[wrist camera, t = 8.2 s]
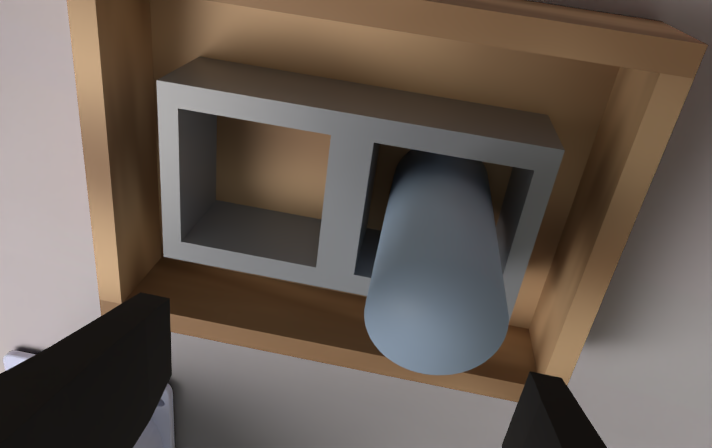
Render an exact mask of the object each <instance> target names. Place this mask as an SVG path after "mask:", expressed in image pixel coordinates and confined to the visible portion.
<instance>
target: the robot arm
mask: <svg viewBox="0 0 712 448" xmlns="http://www.w3.org/2000/svg"><path fill="white" fill-rule="evenodd" d="M3 362H4V366H5V372H3V373H1V374H0V448H175V440H174V413H173V391H172V388H171V386H170V385H169V384H168V382H169V379H170V377H171V375H172V367H171V327H170V298H166V297H161V296H157V295H152V294H147V293H142V292H140V293H139V294H137V295H135V296H133V297H132V298H130V299H128V300H127V301H125V302H123V303H122V304H120V305H118V306H117V307H115V308H114V309H112V310H110V311H109V312H107V313H105V314H104V315H102V316H101V317H99V318H97V319H96V320H94V321H92V322H91V323H89V324H88V325H86V326H84V327H83V328H81V329H79V330H77V331H76V332H74V333H72V334H71V335H69V336H67V337H66V338H64V339H62V340H61V341H59V342H57V343H56V344H54V345H52V346H51V347H49V348H47V349H45V350H43V351H42V352H40V353H38V354H31V353H26V352H21V351H16V350H12V351H9V352H8V353H7V354H6V355H5V356H4V358H3ZM161 399H162V400H161ZM502 448H607V447H606V445H605V444H604V442H603V441H602V439H601V438H600V436H599V435H598V433H597V432H596V430H595V429H594V427H593V426H592V424H591V422H590V421H589V419H588V418H587V416H586V415H585V413H584V412H583V410H582V408H581V407H580V405H579V404H578V402H577V401H576V399H575V398H574V396H573V394H572V393H571V391H570V390H569V388H568V387H567V385H566V384H565V382H564V381H563V379H562V378H560V377H555V376H550V375H546V374H541V373H536V372H531V371H530V372H529V375H528V377H527V380H526V383H525V385H524V388H523V391H522V393H521V396H520V399H519V401H518V404H517V407H516V409H515V412H514V415H513V417H512V420H511V423H510V425H509V428H508V431H507V433H506V436H505V439H504V441H503V444H502Z"/></svg>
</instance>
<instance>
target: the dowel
mask: <svg viewBox="0 0 712 448" xmlns="http://www.w3.org/2000/svg"><path fill="white" fill-rule="evenodd" d="M364 319H365V326H366V329H367V332H368V334H369V336H370V339H371V340H372V342H373V343H374V345H375V346H376V347H377V348H378V350H379V351H380V352H381V353H382V354H383V355H384V356H386V357H387V358H388V359H389V360H391V361H392V362H394V363H396V364H397V365H399V366H401V367H403V368H406V369H408V370H411V371H414V372H417V373H422V374H428V375H452V374H457V373H462V372H465V371H468V370H471V369H473V368H475V367H477V366H479V365H481V364H482V363H484V362H486V361H487V360H488V359H489V358H491V357H492V356H493V355H494V354H495V353H496V352H497V350H498V349H499V348H500V346H501V345H502V343H503V341H504V339H505V337H506V334H507V331H508V325H509V314H508V307H507V301H506V294H505V287H504V280H503V274H502V267H501V260H500V253H499V247H498V240H497V233H496V227H495V220H494V213H493V206H492V200H491V193H490V186H489V179H488V174H487V171H486V168H485V166H484V164H483V162H482V161H477V160H471V159H465V158H459V157H454V156H448V155H442V154H437V153H431V152H425V151H419V150H414V149H411V150H410V151H409V152H408V153H407V154H405V156H404V157H403V158H402V159H401V160H400V162H399V163H398V165H397V167H396V170H395V173H394V177H393V181H392V186H391V190H390V195H389V199H388V204H387V208H386V213H385V217H384V222H383V226H382V231H381V235H380V240H379V244H378V249H377V254H376V258H375V263H374V267H373V272H372V276H371V281H370V285H369V290H368V294H367V299H366V303H365V309H364Z"/></svg>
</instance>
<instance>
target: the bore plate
mask: <svg viewBox="0 0 712 448" xmlns="http://www.w3.org/2000/svg"><path fill="white" fill-rule="evenodd" d="M156 83H157V107H158V132H159V156H160V180H161V205H162V229H163V254H164V257H168V258H173V259H178V260H183V261H188V262H194V263H199V264H204V265H209V266H214V267H219V268H225V269H230V270H235V271H240V272H245V273H250V274H256V275H261V276H266V277H271V278H276V279H281V280H287V281H292V282H297V283H302V284H307V285H312V286H318V287H323V288H328V289H333V290H338V291H343V292H349V293H354V294H359V295H364V296H367V294H368V290H369V285H370V281H371V276H372V272H373V267H374V263H375V258H376V254H377V249H378V244H379V240H380V235H381V230H376V229H370V228H367V224H368V217H369V211H370V205H371V198H372V192H373V185H374V179H375V173H376V166H377V160H378V154H379V147H380V144H385V145H391V146H397V147H402V148H408V149H414V150H419V151H425V152H431V153H437V154H442V155H448V156H454V157H459V158H465V159H471V160H477V161H482V162H488V163H494V164H500V165H505V166H511V167H513V169H512V172H511V176H510V179H509V183H508V186H507V190H506V193H505V197H504V200H503V204H502V208H501V211H500V215H499V218H498V222H497V225H496V233H497V240H498V247H499V253H500V260H501V267H502V274H503V280H504V287H505V294H506V301H507V307H508V314H509V321H510V318H511V315H512V312H513V309H514V306H515V302H516V299H517V296H518V293H519V290H520V287H521V284H522V281H523V278H524V275H525V272H526V269H527V265H528V262H529V259H530V256H531V253H532V250H533V247H534V244H535V241H536V238H537V235H538V232H539V228H540V225H541V222H542V219H543V216H544V213H545V210H546V207H547V204H548V201H549V198H550V195H551V191H552V188H553V185H554V182H555V179H556V176H557V173H558V170H559V167H560V164H561V161H562V158H563V154H564V151H565V150H564V148H563V145H562V143H561V141H560V139H559V137H558V135H557V133H556V131H555V129H554V127H553V124H552V122H551V120H550V118H549V116H548V115H545V114H539V113H533V112H528V111H522V110H516V109H510V108H504V107H498V106H492V105H486V104H480V103H474V102H468V101H462V100H456V99H450V98H444V97H438V96H432V95H426V94H420V93H414V92H408V91H402V90H396V89H390V88H385V87H379V86H373V85H367V84H361V83H355V82H349V81H343V80H337V79H331V78H325V77H319V76H313V75H307V74H301V73H295V72H289V71H283V70H277V69H271V68H265V67H259V66H253V65H247V64H242V63H236V62H230V61H224V60H218V59H212V58H206V57H200V56H199V57H198V58H196V59H194V60H192V61H190V62H189V63H187V64H185V65H183V66H181V67H179V68H178V69H176V70H174V71H172V72H170V73H169V74H167V75H165V76H163V77H161V78H159V79H158V80H156ZM217 115H219V116H225V117H231V118H236V119H242V120H248V121H253V122H259V123H265V124H271V125H276V126H282V127H288V128H294V129H299V130H305V131H311V132H316V133H322V134H328V135H331V139H330V148H329V157H328V166H327V175H326V184H325V193H324V202H323V211H322V219H316V218H311V217H305V216H300V215H295V214H289V213H284V212H278V211H273V210H268V209H262V208H257V207H251V206H246V205H241V204H235V203H230V202H224V201H219V200H216V152H217Z"/></svg>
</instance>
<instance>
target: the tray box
mask: <svg viewBox="0 0 712 448" xmlns="http://www.w3.org/2000/svg"><path fill="white" fill-rule="evenodd" d="M67 7H68V16H69V25H70V34H71V43H72V53H73V62H74V71H75V80H76V89H77V98H78V107H79V117H80V126H81V135H82V144H83V153H84V162H85V171H86V180H87V190H88V199H89V208H90V217H91V226H92V235H93V244H94V254H95V263H96V272H97V281H98V290H99V299H100V308H101V316H102V315H104V314H105V313H107V312H109V311H110V310H112V309H114V308H115V307H117V306H118V305H120V304H122V303H123V302H125V301H127V300H128V299H130V298H132V297H133V296H135V295H137V294H139V293H140V292H142V293H147V294H152V295H157V296H161V297H166V298H170V327H171V332H174V333H179V334H184V335H189V336H194V337H199V338H204V339H209V340H214V341H219V342H223V343H228V344H233V345H238V346H243V347H248V348H253V349H258V350H263V351H268V352H273V353H278V354H283V355H288V356H293V357H297V358H302V359H307V360H312V361H317V362H322V363H327V364H332V365H337V366H342V367H347V368H352V369H357V370H362V371H367V372H371V373H376V374H381V375H386V376H391V377H396V378H401V379H406V380H411V381H416V382H421V383H426V384H431V385H436V386H441V387H445V388H450V389H455V390H460V391H465V392H470V393H475V394H480V395H485V396H490V397H495V398H500V399H505V400H510V401H515V402H518V401H519V399H520V396H521V393H522V391H523V388H524V385H525V383H526V380H527V377H528V375H529V372H530V371H531V372H536V373H541V374H546V375H550V376H555V377H560V378H562V379H563V381H564V382H565V384H566V385H568V382H569V380H570V377H571V375H572V372H573V370H574V368H575V365H576V363H577V360H578V358H579V356H580V353H581V351H582V348H583V346H584V343H585V341H586V339H587V336H588V334H589V331H590V329H591V327H592V324H593V322H594V319H595V317H596V314H597V312H598V310H599V307H600V305H601V302H602V300H603V298H604V295H605V293H606V290H607V288H608V285H609V283H610V281H611V278H612V276H613V273H614V271H615V269H616V266H617V264H618V261H619V259H620V256H621V254H622V252H623V249H624V247H625V244H626V242H627V240H628V237H629V235H630V232H631V230H632V227H633V225H634V223H635V220H636V218H637V215H638V213H639V211H640V208H641V206H642V203H643V201H644V199H645V196H646V194H647V191H648V189H649V186H650V184H651V182H652V179H653V177H654V174H655V172H656V170H657V167H658V165H659V162H660V160H661V157H662V155H663V153H664V150H665V148H666V145H667V143H668V141H669V138H670V136H671V133H672V131H673V128H674V126H675V124H676V121H677V119H678V116H679V114H680V112H681V109H682V107H683V104H684V102H685V99H686V97H687V95H688V92H689V90H690V87H691V85H692V83H693V80H694V78H695V75H696V73H697V70H698V68H699V66H700V63H701V61H702V58H703V56H704V54H705V51H706V49H707V46H708V45H707V44H705V43H703V42H701V41H699V40H697V39H695V38H693V37H691V36H689V35H687V34H685V33H683V32H681V31H679V30H677V29H675V28H673V27H671V26H669V25H668V24H666V23H664V22H662V21H656V20H650V19H643V18H637V17H630V16H624V15H617V14H611V13H604V12H598V11H591V10H585V9H579V8H572V7H566V6H559V5H553V4H546V3H540V2H533V1H527V0H67ZM199 56H200V57H206V58H212V59H218V60H224V61H230V62H236V63H242V64H247V65H253V66H259V67H265V68H271V69H277V70H283V71H289V72H295V73H301V74H307V75H313V76H319V77H325V78H331V79H337V80H343V81H349V82H355V83H361V84H367V85H373V86H379V87H385V88H390V89H396V90H402V91H408V92H414V93H420V94H426V95H432V96H438V97H444V98H450V99H456V100H462V101H468V102H474V103H480V104H486V105H492V106H498V107H504V108H510V109H516V110H522V111H528V112H533V113H539V114H545V115H548V116H549V118H550V120H551V122H552V124H553V127H554V129H555V131H556V133H557V135H558V137H559V139H560V141H561V143H562V145H563V148H564V150H565V151H564V154H563V158H562V161H561V164H560V167H559V170H558V173H557V176H556V179H555V182H554V185H553V188H552V191H551V195H550V198H549V201H548V204H547V207H546V210H545V213H544V216H543V219H542V222H541V225H540V228H539V232H538V235H537V238H536V241H535V244H534V247H533V250H532V253H531V256H530V259H529V262H528V265H527V269H526V272H525V275H524V278H523V281H522V284H521V287H520V290H519V293H518V296H517V299H516V302H515V306H514V309H513V312H512V315H511V318H510V321H509V325H508V331H507V334H506V337H505V339H504V341H503V343H502V345H501V346H500V348H499V349H498V350H497V352H496V353H495V354H494V355H493V356H492V357H491V358H489V359H488V360H487V361H486V362H484V363H482V364H481V365H479V366H477V367H475V368H473V369H471V370H468V371H465V372H462V373H457V374H452V375H428V374H422V373H417V372H414V371H411V370H408V369H406V368H403V367H401V366H399V365H397V364H396V363H394V362H392V361H391V360H389V359H388V358H387V357H386V356H384V355H383V354H382V353H381V352H380V351H379V350H378V348H377V347H376V346H375V345H374V343H373V342H372V340H371V339H370V336H369V334H368V332H367V329H366V326H365V319H364V309H365V303H366V299H367V296H364V295H359V294H354V293H349V292H343V291H338V290H333V289H328V288H323V287H318V286H312V285H307V284H302V283H297V282H292V281H287V280H281V279H276V278H271V277H266V276H261V275H256V274H250V273H245V272H240V271H235V270H230V269H225V268H219V267H214V266H209V265H204V264H199V263H194V262H188V261H183V260H178V259H173V258H168V257H164V254H163V229H162V205H161V180H160V156H159V132H158V107H157V83H156V80H158V79H159V78H161V77H163V76H165V75H167V74H169V73H170V72H172V71H174V70H176V69H178V68H179V67H181V66H183V65H185V64H187V63H189V62H190V61H192V60H194V59H196V58H198V57H199ZM330 139H331V135H328V134H322V133H316V132H311V131H305V130H299V129H294V128H288V127H282V126H276V125H271V124H265V123H259V122H253V121H248V120H242V119H236V118H231V117H225V116H219V115H217V152H216V200H219V201H224V202H230V203H235V204H241V205H246V206H251V207H257V208H262V209H268V210H273V211H278V212H284V213H289V214H295V215H300V216H305V217H311V218H316V219H322V211H323V202H324V193H325V184H326V175H327V166H328V157H329V148H330ZM410 150H411V149H408V148H402V147H397V146H391V145H385V144H380V147H379V154H378V160H377V166H376V173H375V179H374V185H373V192H372V198H371V205H370V211H369V217H368V224H367V228H370V229H376V230H381V231H382V226H383V222H384V217H385V213H386V208H387V204H388V199H389V195H390V190H391V186H392V181H393V177H394V173H395V170H396V167H397V165H398V163H399V162H400V160H401V159H402V158H403V157H404V156H405V154H407V153H408V152H409V151H410ZM483 164H484V166H485V168H486V171H487V174H488V179H489V186H490V193H491V200H492V206H493V213H494V220H495V227H496V225H497V222H498V218H499V215H500V211H501V208H502V204H503V200H504V197H505V193H506V190H507V186H508V183H509V179H510V176H511V172H512V169H513V167H511V166H505V165H500V164H494V163H488V162H483Z"/></svg>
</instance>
